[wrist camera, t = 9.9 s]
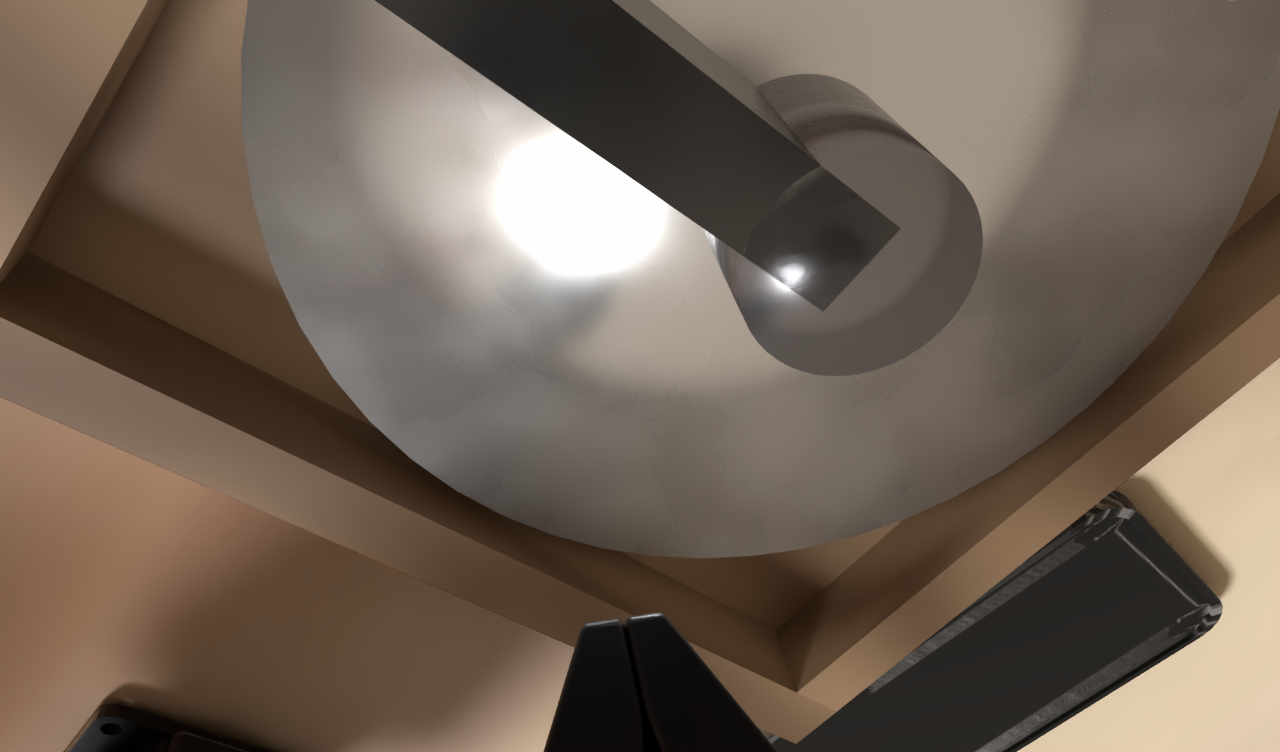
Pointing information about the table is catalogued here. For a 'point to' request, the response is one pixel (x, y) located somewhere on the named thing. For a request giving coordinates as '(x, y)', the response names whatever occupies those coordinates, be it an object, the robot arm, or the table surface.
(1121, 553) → the phone
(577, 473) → the dial
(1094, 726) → the table surface
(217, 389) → the square wooden tray
